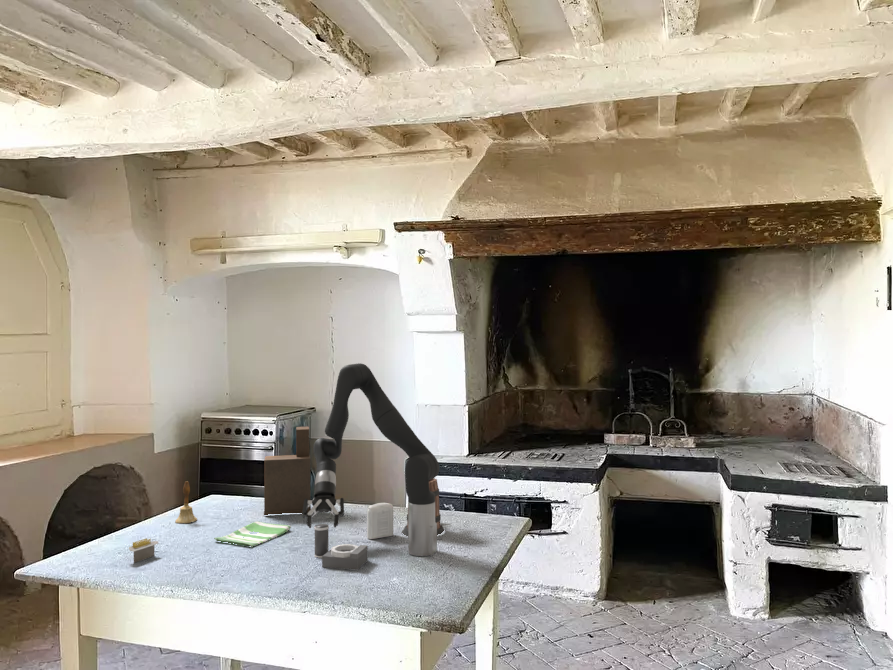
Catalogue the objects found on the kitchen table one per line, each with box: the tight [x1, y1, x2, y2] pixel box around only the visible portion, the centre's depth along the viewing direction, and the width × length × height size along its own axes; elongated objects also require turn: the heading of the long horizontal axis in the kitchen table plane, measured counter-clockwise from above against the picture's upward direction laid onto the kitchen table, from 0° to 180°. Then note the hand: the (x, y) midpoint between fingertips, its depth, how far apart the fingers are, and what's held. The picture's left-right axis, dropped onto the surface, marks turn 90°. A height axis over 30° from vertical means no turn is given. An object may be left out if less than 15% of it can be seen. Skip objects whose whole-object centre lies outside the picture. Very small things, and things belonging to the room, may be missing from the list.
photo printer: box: [366, 502, 394, 540], centre depth 241 cm, size 10×4×12 cm, turn 123°
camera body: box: [321, 543, 369, 571], centre depth 211 cm, size 12×9×5 cm
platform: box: [128, 537, 159, 564], centre depth 217 cm, size 12×18×7 cm, turn 154°
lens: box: [313, 523, 330, 559], centre depth 220 cm, size 5×5×10 cm
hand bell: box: [175, 480, 198, 525], centre depth 264 cm, size 8×8×16 cm
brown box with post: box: [263, 426, 312, 516], centre depth 279 cm, size 19×14×35 cm
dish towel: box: [214, 521, 292, 548], centre depth 242 cm, size 18×23×3 cm
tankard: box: [401, 477, 445, 537], centre depth 250 cm, size 24×17×20 cm
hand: (322, 526), depth 223 cm, fingers open, 8 cm apart
